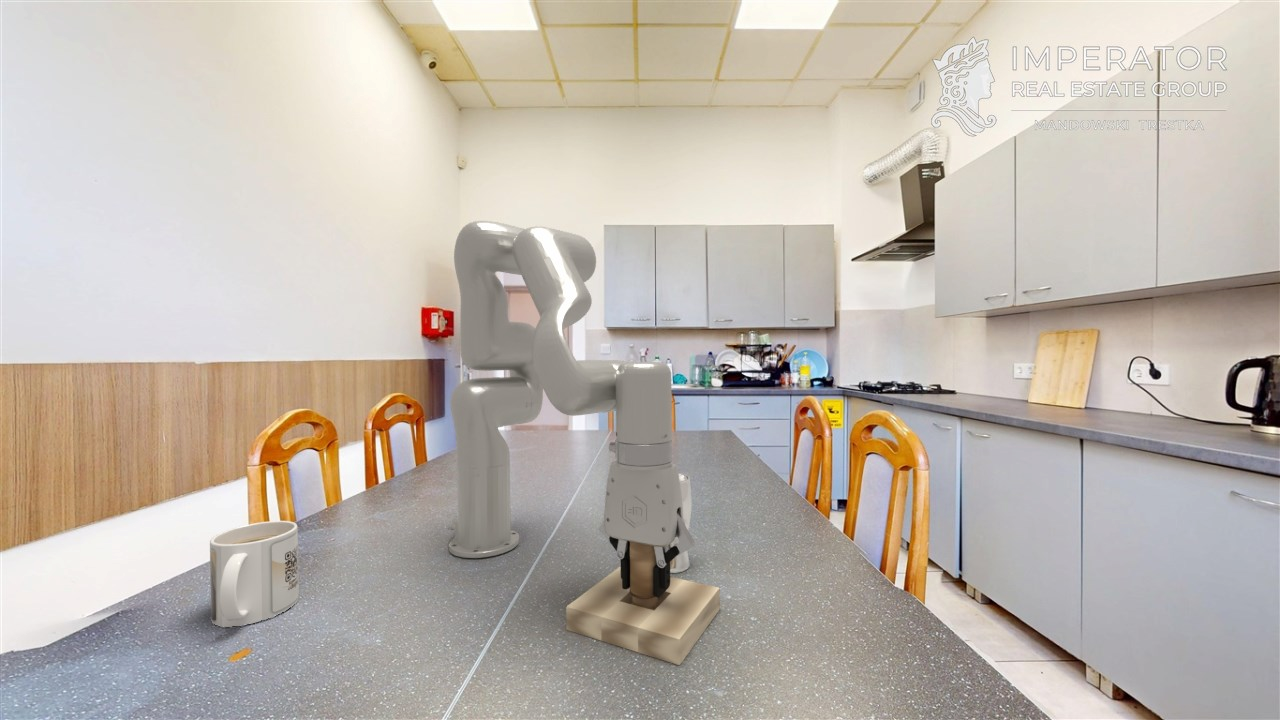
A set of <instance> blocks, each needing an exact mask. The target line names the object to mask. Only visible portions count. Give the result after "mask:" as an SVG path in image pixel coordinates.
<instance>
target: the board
mask: <svg viewBox="0 0 1280 720" xmlns="http://www.w3.org/2000/svg"><path fill="white" fill-rule="evenodd" d="M720 595H721V588H720V587H718V586H713V585H708V584H704V583H701V582H700V583H699V582H695V581H691V580H688V579H687V580H686V579H681V578H677V577H673V576H670V586H669V588H668V589H667V590H666V591H665V592H664V593H663V594H662V595H661V596H660V597H659V598H658V607H657V608H656V609H655V610H651V609H647V608H643V607H640V606H636V605H633V603H632V595H631V594H630V588H629V589H627V590H626V589H623V588H622V579H621V565H620V566H619V567H617V568H616V569H614V570H613V571H612V572H611V573H609V574H608V575H606V576H605V577H604V578H603V579H601V580H600V581H598V582H597V583H596V584H594V585H593V586H592V587H591V588H589V589H588V590H586V591H585V592H584V593H582V594H581V595H580V596H579V597H577V598H576V599H575V600H573V601H572V602H571V603H569V604H567V606H566V607H565V610H566V611H565V613H566V614H565V615H566V616H565V617H566V618H565V619H566V622H565V623H566V625H565V628H566V631H569V632H571V633H575V634H579V635H582V636H584V637H588V638H592V639H595V640H597V641H598V640H599V641H601V642H604V643H607V644H611V645H613V646H617V647H620V648H623V649H627V650H629V651H632V652H636V653H638V654H642V655H645V656H649V657H652V658H654V659H658V660H660V661H664V662H667V663H670V664H674V665H676V666H680V665H681V664H682V663H683V662H684V660H685V659H686V657H687V656H688V654H689V653H690V652H691V651H692V649H693V647H694V646H695V645H696V644H697V642H698V641H699V639H700V638H701V636H702V635H703V634H704V632H705V631H706V630H707V628H708V627H709V625H710V624H711V622H713V619H714V618H715V617H716V616H717V614H718V613H719V611H720V610H721V597H720Z"/></svg>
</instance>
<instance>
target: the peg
mask: <svg viewBox="0 0 1280 720" xmlns="http://www.w3.org/2000/svg"><path fill="white" fill-rule="evenodd" d="M655 565H657V561H656V555H655V549H654V546H650V545H645V544H640V543H635V542H630V594H631V595H632V603H633V605H636V606H640V607H643V608H647V609H651V610H655V609H656V608H657V607H658V597H655V596H654V595H653V568H654V566H655Z"/></svg>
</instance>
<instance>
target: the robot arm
mask: <svg viewBox="0 0 1280 720" xmlns="http://www.w3.org/2000/svg"><path fill="white" fill-rule="evenodd" d="M595 252H596V251H595V250H594V247H593V246H592V244H591V243H590V242H589V240H588V239H586V238H585V237H583V236H581V235H579V234H576V233H572V232H567V231H563V230H560V229H559V230H558V229H555V228H552V227H547V226H531V227H527V228H524V227H523V228H522V227H518V226H515V225H511V224H510V225H509V224H507V223H506V224H505V223H501V222H496V221H492V220H491V221H488V220H478V221H477V220H475V221H472V222H471V221H470V222H469V223H467V224H465V225H464V226H463V227H462V228H461V230H460V231H459V233H458V234H457V238H456V241H455V245H454V252H453V261H454V262H453V263H454V269H455V275H456V279H457V282H458V287H459V293H460V314H459V316H460V317H459V318H460V320H459V321H460V323H459V325H460V326H459V327H460V328H459V331H460V333H459V334H460V335H459V338H460V339H459V341H460V342H459V343H460V344H459V348H460V349H459V350H460V357H461V361H462V363H463V365H464V366H465V367H466V368H468V369H470V370H474V371H481V372H482V371H484V372H486V371H487V372H488V371H509V376H506V377H504V376H503V377H502V376H501V377H498V376H497V377H495V376H493V377H476V378H470V379H467V380H465V381H462V382H460V383H459V384H457V385H456V386H455V387H454V388H453V390H452V392H451V396H450V401H449V402H450V403H449V404H450V411H451V418H452V421H453V428H454V433H455V434H454V435H455V443H456V477H457V478H456V481H457V482H456V483H457V485H456V487H457V492H456V493H457V515H456V516H454V517H453V518H452V521H451V522H450V521H449V522H448V523H447V525H446V529H448V530H449V531H454V537H453V538H452V539H451V540H450V542H449V544H448V550H449V552H450V553H451V554H452V555H453V556H455V557H459V558H464V559H482V558H490V557H494V556H498V555H502V554H505V553H508V552H509V551H511V550H513V549H515V548H516V547H517V546H518V545H519V544H520V535H519V533H518V532H516V531H515V530H513V529H511V528H512V527H511V526H512V524H511V523H512V522H511V521H512V520H511V516H512V515H511V453H510V447H509V445H508V443H507V441H506V439H505V438H504V437H503V435H502V434H501V432H500V430H499V428H502V427H506V426H515V425H523V424H528V423H530V422H533V421H534V420H536V419H537V418H538V417H539V415H540V413H541V410H542V406H543V401H544V400H543V398H544V393H545V395H546V397H547V399H548V400H549V402H550V404H551V406H553V407H554V409H556V410H557V411H558V412H559V413H561V414H563V415H567V416H572V417H574V416H585V415H591V414H600V413H609V412H610V413H611V412H612V413H613V412H615V440H614V442H613V441H610V443H609V445H608V450H609V452H612V453H614V454H615V457H614V458H615V460H614V461H611V463H610V466H609V471H608V475H607V481H606V487H605V488H606V489H605V497H604V499H605V500H604V510H603V511H604V515H603V516H604V517H603V518H604V519H603V520H602V522H601V524H600V526H599V527H598V530H599V532H600V534H602V535H603V537H605V538H606V539H607V540H608V541H609V543H610V544H611V546H612V547H613V548H614V550H615V551H616V557H617V558H618V559H620V566H621V579H622V588H623V589H626V590H627V589H629V588H630V542H635V543H640V544H645V545H650V546H654V549H655V555H656V561H657V565H655V566H654V568H653V595H654V596H655V597H658V598H659V597H660V596H661V595H662V594H663V593H664V592H665V591H666V590H667V589H668V588H669V586H670V577H671V573H670V561H671V560H673V559H674V558H675V557H676V556H677V555H679V554H681V553H683V552H685V551H687V552H688V551H689V550H691V548H693V547H694V546H695V540H694V539H693V537H692V535H691V533H690V532H689V530H688V529H687V528H686V526H685V524H684V522H683V503H682V493H681V486H680V480H679V475H678V473H679V470H678V467H677V464H676V463H674V462H673V434H672V433H673V432H672V431H673V422H672V421H673V418H672V417H673V413H672V412H673V411H672V408H673V407H672V403H673V402H672V400H673V399H672V372H671V368H670V366H669V365H668V364H666V363H664V362H661V361H631V362H630V361H624V360H617V359H616V360H615V359H609V360H607V359H606V360H603V359H593V360H591V359H588V360H587V359H585V360H577V359H576V358H575V356H574V354H573V352H572V350H571V348H570V346H569V344H568V341H567V339H566V336H565V330H564V329H566V328H569V327H570V326H573V325H574V324H576V323H578V322H579V321H580V320H582V318H584V317H585V316H586V315H587V314H588V312H589V311H590V309H591V306H592V304H593V303H592V301H593V300H592V299H593V298H592V295H591V293H590V291H589V290H588V288H587V286H586V284H585V282H587V281H589V280H590V279H591V278H592V277H593V275H594V273H595V270H596V267H597V256H596V253H595ZM497 272H499V273H505V274H511V275H520V276H521V277H522V279H523V282H524V284H525V287H526V288H527V291H528V293H529V294H530V297H531V299H532V302H533V303H534V306H535V308H536V310H537V312H538V314H539V317H540V318H539V320H538V322H537V324H536V326H533V325H532V324H529V323H527V322H522V321H510V319H509V298H508V294H507V291H506V289H505V287H504V285H503V283H502V281H501V280H500V279H499V277H498V276H497V274H496V273H497ZM675 537H678V539H679V543H677V544H675V545H674V546H673V547H672V542H673V541H674V538H675Z"/></svg>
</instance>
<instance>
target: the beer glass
mask: <svg viewBox="0 0 1280 720" xmlns="http://www.w3.org/2000/svg"><path fill="white" fill-rule="evenodd" d="M678 475H679V480H680V486H681V493H682V503H683V522H684V524H685V526H686V528H687V529H688V531H689V529H690V524H691V523H690V522H691V518H692V517H691V516H692V488H691V477H690V476H689V475H688V474H686V473H682V472H681V473H680V472H678ZM677 543H679V539H678V537H675V538H674V541H673V542H672V547H673V546H674V545H675V544H677ZM689 559H690V558H689V554H688V550H687V551H685V552H683V553H681V554H679V555H677V556H676V557H675V558H674V559H673V560H671V561H670V574H679V573H682V572H685V571H687V570H688V569H689V568H690V560H689Z"/></svg>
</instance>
